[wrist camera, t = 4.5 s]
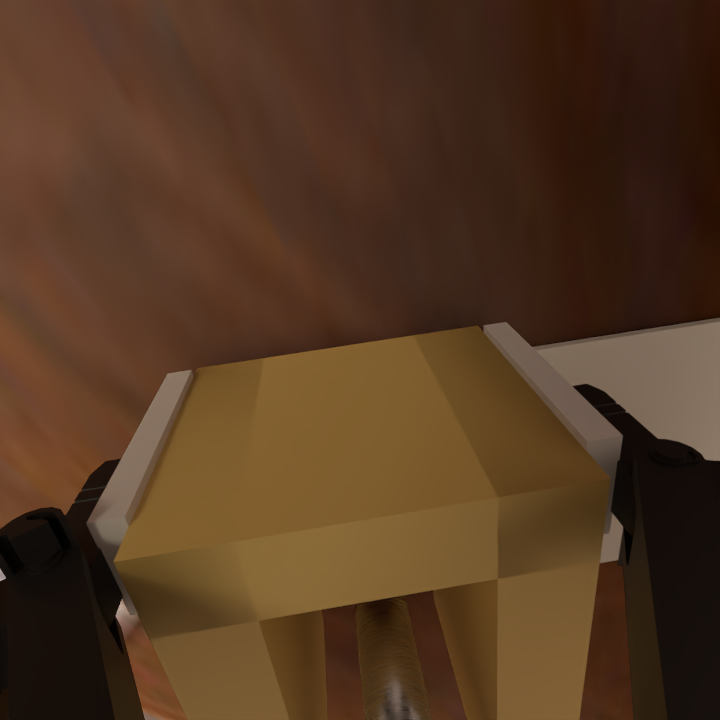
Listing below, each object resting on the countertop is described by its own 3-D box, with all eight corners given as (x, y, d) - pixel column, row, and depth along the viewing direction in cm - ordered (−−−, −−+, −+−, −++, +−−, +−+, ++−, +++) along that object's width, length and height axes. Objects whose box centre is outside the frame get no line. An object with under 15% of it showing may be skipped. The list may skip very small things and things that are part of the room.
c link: (197, 368, 16) (113, 562, 9) (477, 325, 17) (610, 478, 9) (274, 628, 22) (260, 873, 15) (481, 591, 22) (567, 813, 15)
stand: (327, 522, 20) (344, 807, 12) (404, 509, 21) (476, 783, 12) (338, 577, 22) (361, 867, 13) (410, 565, 22) (478, 844, 13)
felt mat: (531, 346, 18) (534, 350, 18) (897, 289, 18) (905, 292, 18) (523, 570, 23) (526, 576, 23) (812, 520, 23) (818, 525, 23)
